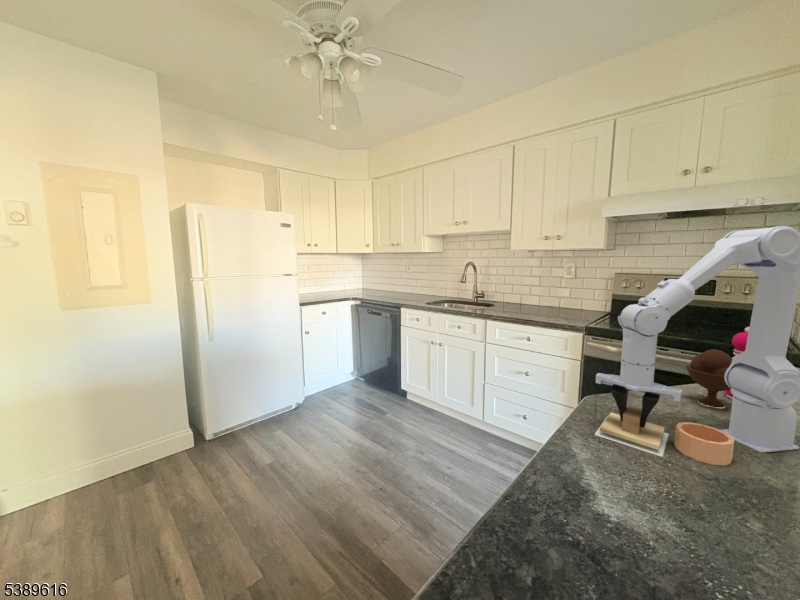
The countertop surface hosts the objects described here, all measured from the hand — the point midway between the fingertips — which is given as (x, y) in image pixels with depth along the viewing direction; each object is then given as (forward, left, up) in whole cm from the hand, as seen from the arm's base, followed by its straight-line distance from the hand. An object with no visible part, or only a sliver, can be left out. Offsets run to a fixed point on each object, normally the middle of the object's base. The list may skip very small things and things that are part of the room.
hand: (632, 422), depth 69 cm
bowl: (-8, +8, -3) cm, 11 cm away
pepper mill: (-45, -13, -3) cm, 47 cm away
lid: (0, 0, -2) cm, 2 cm away
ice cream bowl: (-33, -11, -3) cm, 35 cm away
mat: (0, 0, -3) cm, 3 cm away
